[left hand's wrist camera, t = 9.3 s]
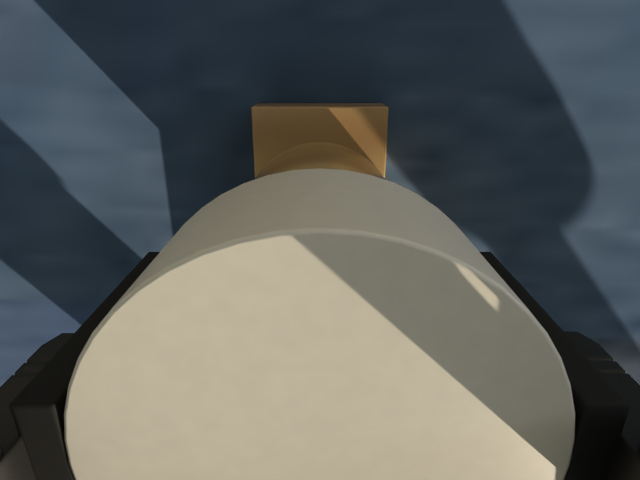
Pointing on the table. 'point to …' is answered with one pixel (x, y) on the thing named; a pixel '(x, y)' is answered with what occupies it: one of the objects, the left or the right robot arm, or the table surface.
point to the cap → (319, 349)
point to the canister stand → (319, 137)
